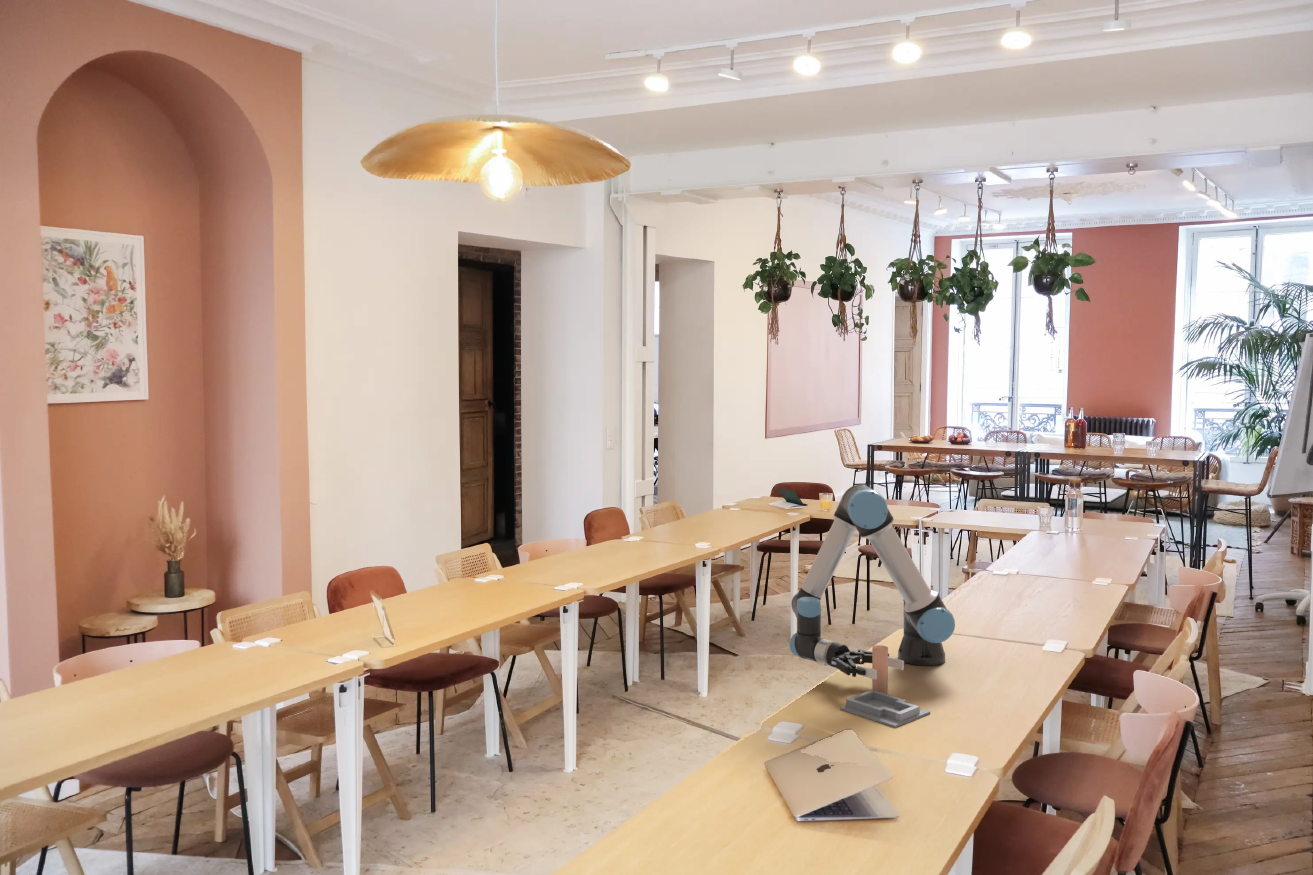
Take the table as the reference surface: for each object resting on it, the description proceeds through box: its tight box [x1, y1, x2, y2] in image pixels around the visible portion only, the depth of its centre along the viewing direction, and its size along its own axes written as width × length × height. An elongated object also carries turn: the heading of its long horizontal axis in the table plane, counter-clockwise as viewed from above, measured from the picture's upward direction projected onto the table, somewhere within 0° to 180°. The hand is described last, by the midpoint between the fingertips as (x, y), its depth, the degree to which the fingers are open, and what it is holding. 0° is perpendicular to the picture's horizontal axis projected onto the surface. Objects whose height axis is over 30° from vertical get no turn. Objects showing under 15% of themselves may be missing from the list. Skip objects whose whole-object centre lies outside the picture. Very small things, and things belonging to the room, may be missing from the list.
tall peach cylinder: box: [871, 644, 889, 695], centre depth 290 cm, size 4×4×14 cm
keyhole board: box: [839, 689, 931, 728], centre depth 276 cm, size 16×19×3 cm
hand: (889, 669), depth 287 cm, fingers open, 12 cm apart
